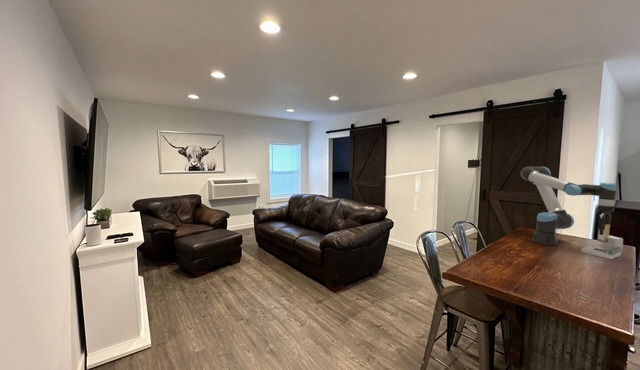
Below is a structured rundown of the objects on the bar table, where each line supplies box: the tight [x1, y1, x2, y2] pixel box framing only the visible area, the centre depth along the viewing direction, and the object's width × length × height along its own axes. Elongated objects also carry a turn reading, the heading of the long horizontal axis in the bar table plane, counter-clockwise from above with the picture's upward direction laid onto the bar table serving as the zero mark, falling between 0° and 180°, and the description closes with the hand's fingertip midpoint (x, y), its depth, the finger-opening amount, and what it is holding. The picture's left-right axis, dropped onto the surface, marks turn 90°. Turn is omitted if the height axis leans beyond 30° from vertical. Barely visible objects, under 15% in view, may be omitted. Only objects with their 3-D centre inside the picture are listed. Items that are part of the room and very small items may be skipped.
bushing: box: [597, 223, 611, 243], centre depth 178 cm, size 5×5×12 cm
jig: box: [580, 245, 622, 260], centre depth 180 cm, size 15×15×6 cm
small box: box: [601, 235, 624, 254], centre depth 185 cm, size 8×6×10 cm
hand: (602, 238), depth 179 cm, fingers closed on bushing, 5 cm apart
